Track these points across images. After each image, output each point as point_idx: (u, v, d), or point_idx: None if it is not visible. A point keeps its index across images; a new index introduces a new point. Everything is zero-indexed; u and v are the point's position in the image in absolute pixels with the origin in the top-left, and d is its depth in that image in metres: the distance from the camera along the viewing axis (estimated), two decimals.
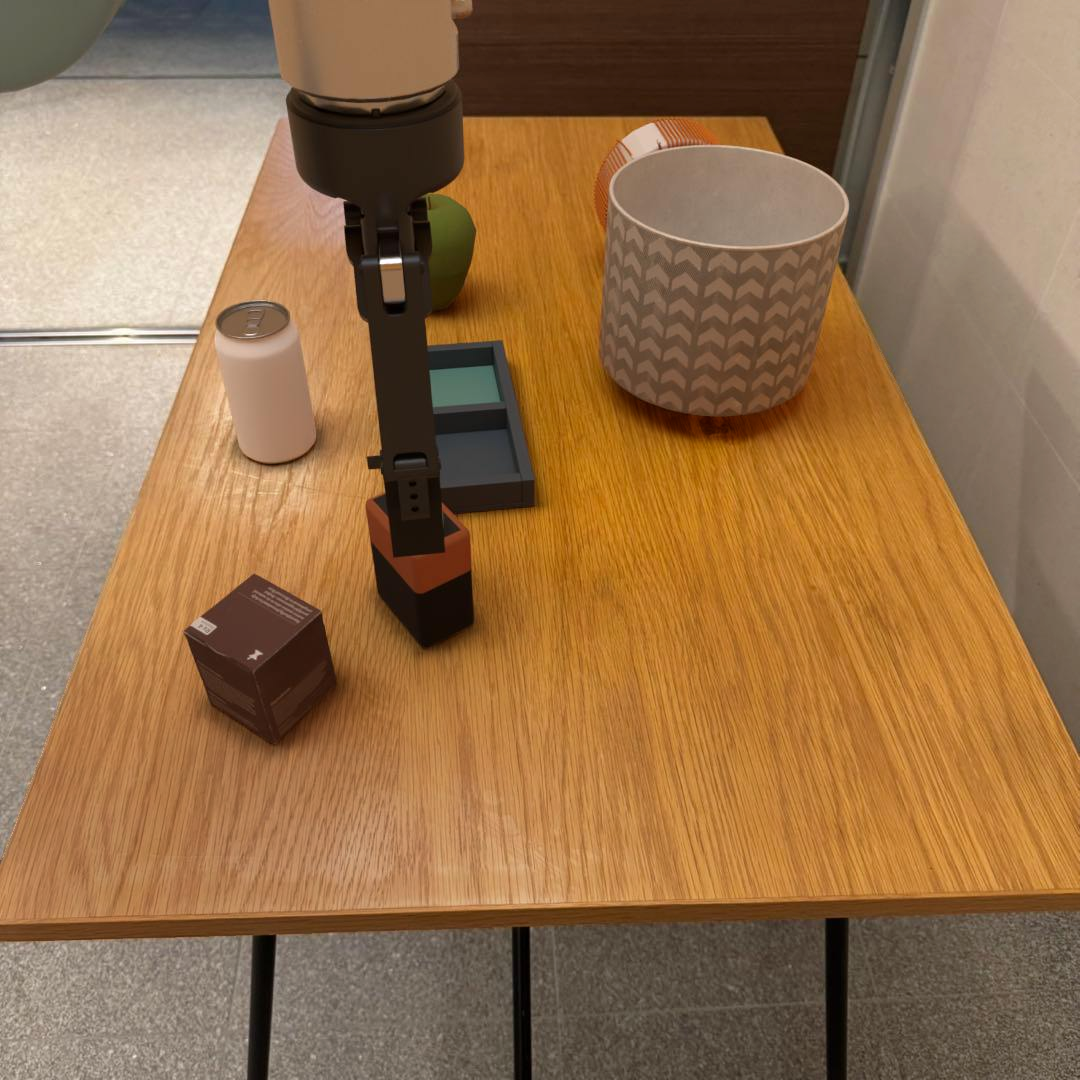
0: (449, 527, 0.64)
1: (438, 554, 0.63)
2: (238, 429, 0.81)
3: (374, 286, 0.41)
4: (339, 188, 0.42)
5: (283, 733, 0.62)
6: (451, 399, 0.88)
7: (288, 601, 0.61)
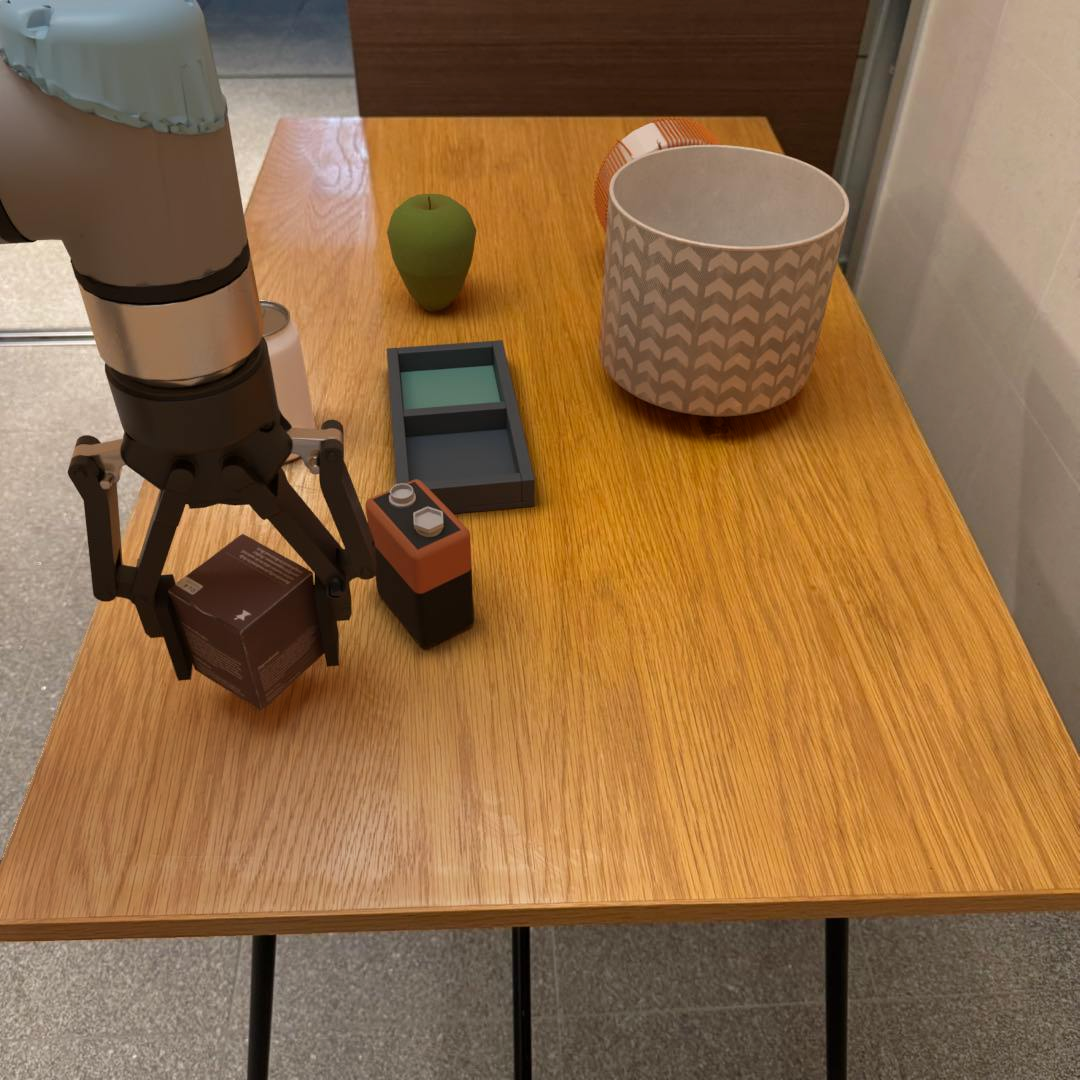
0: (449, 527, 0.64)
1: (438, 554, 0.63)
2: None
3: None
4: (264, 418, 0.49)
5: (270, 700, 0.60)
6: (451, 399, 0.88)
7: (278, 562, 0.59)
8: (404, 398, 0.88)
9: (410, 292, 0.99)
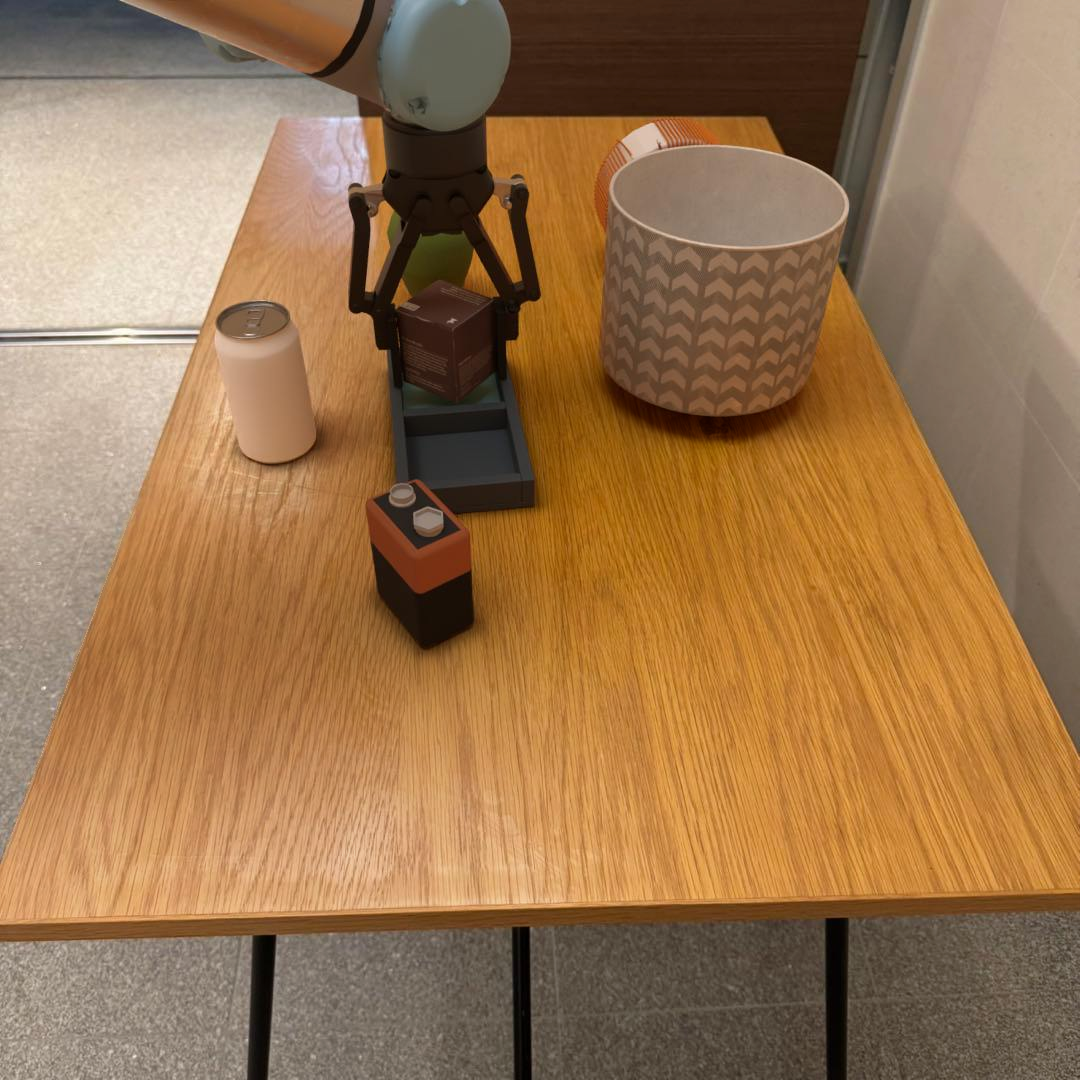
0: (449, 527, 0.64)
1: (438, 554, 0.63)
2: (238, 429, 0.81)
3: None
4: (482, 159, 0.73)
5: (462, 395, 0.84)
6: None
7: (468, 294, 0.83)
8: (404, 398, 0.88)
9: (410, 292, 0.99)
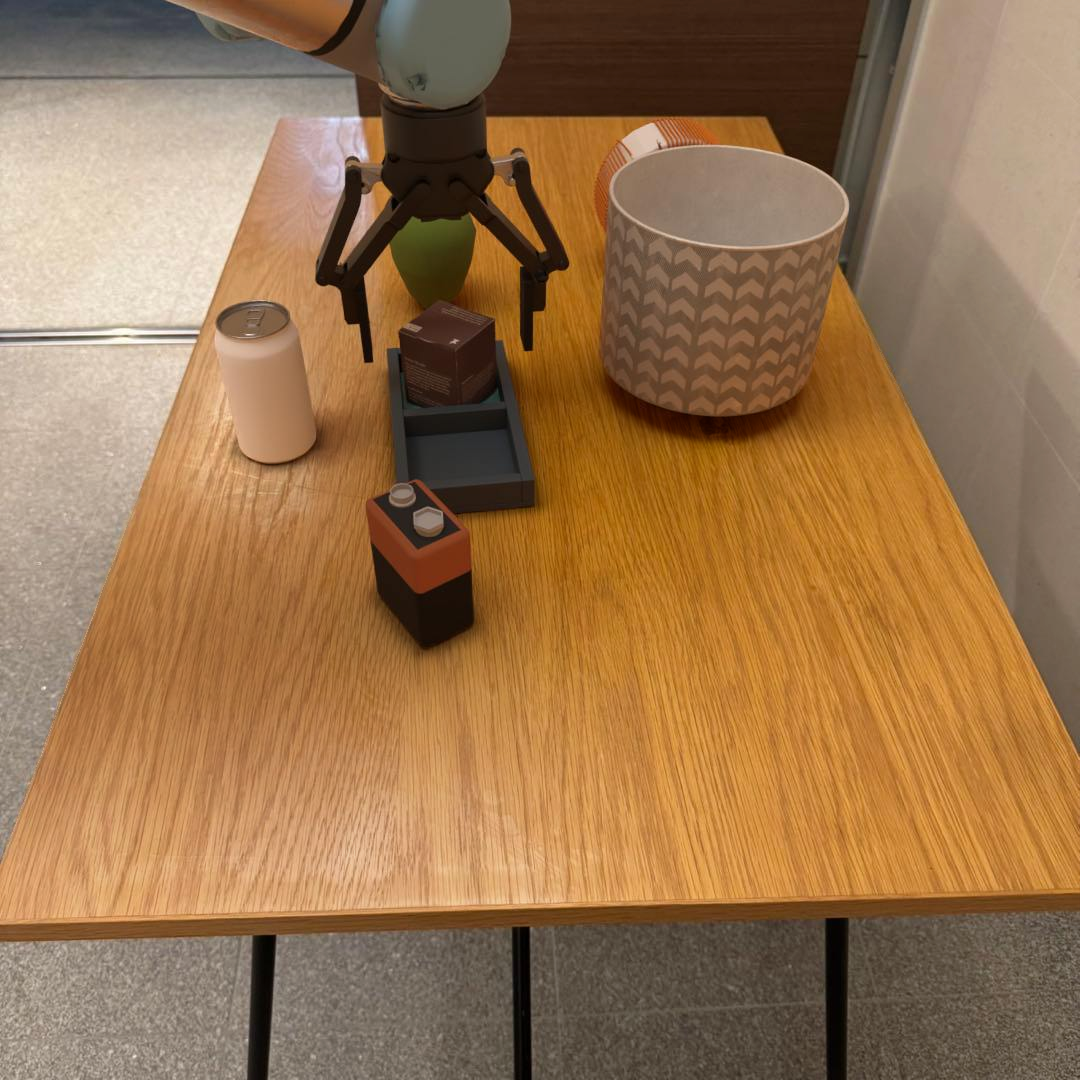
0: (449, 527, 0.64)
1: (438, 554, 0.63)
2: (238, 428, 0.81)
3: (529, 171, 0.75)
4: (482, 143, 0.72)
5: None
6: None
7: (469, 314, 0.85)
8: (404, 398, 0.88)
9: (410, 292, 0.99)
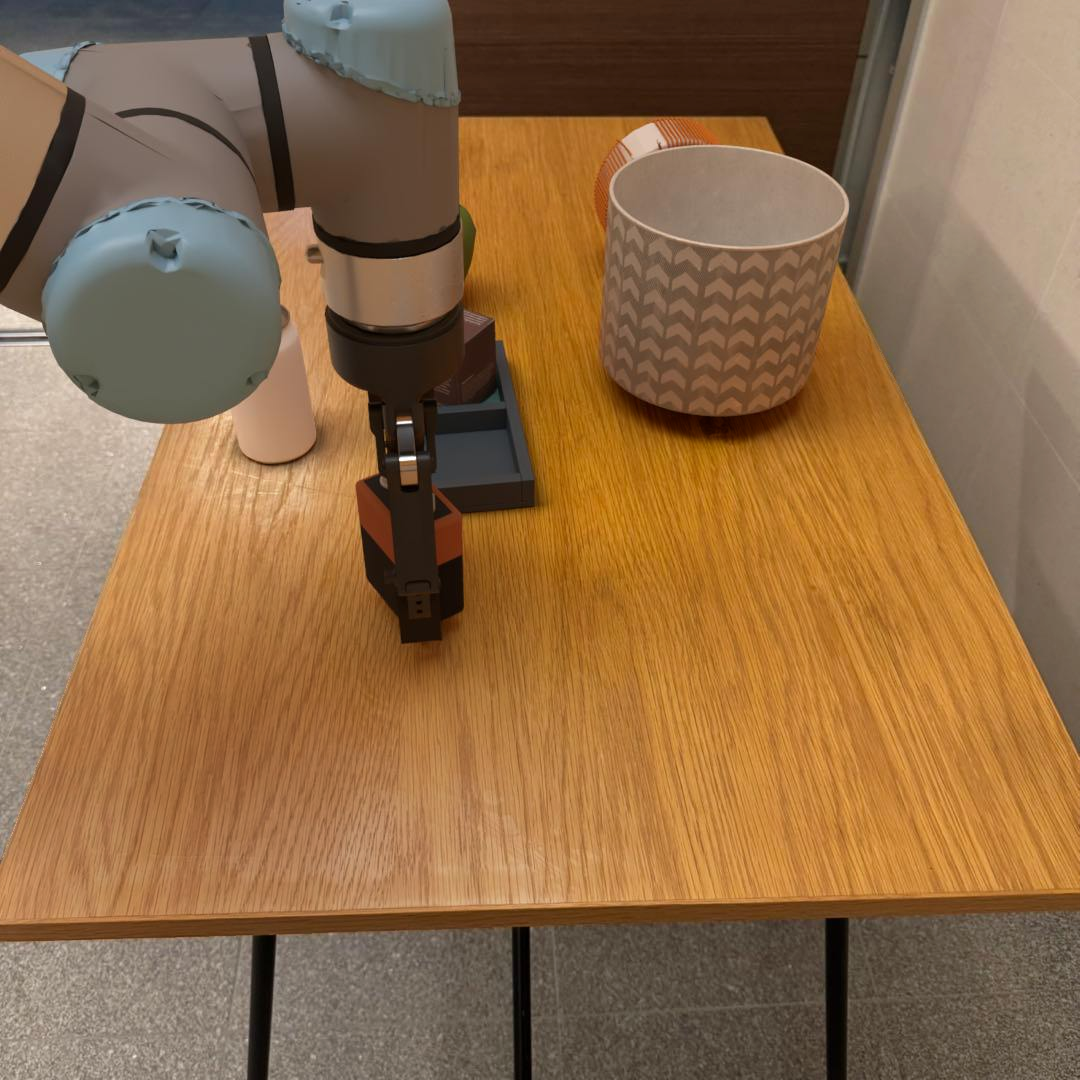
0: (441, 510, 0.63)
1: None
2: (238, 429, 0.81)
3: None
4: None
5: None
6: None
7: (469, 314, 0.85)
8: None
9: None
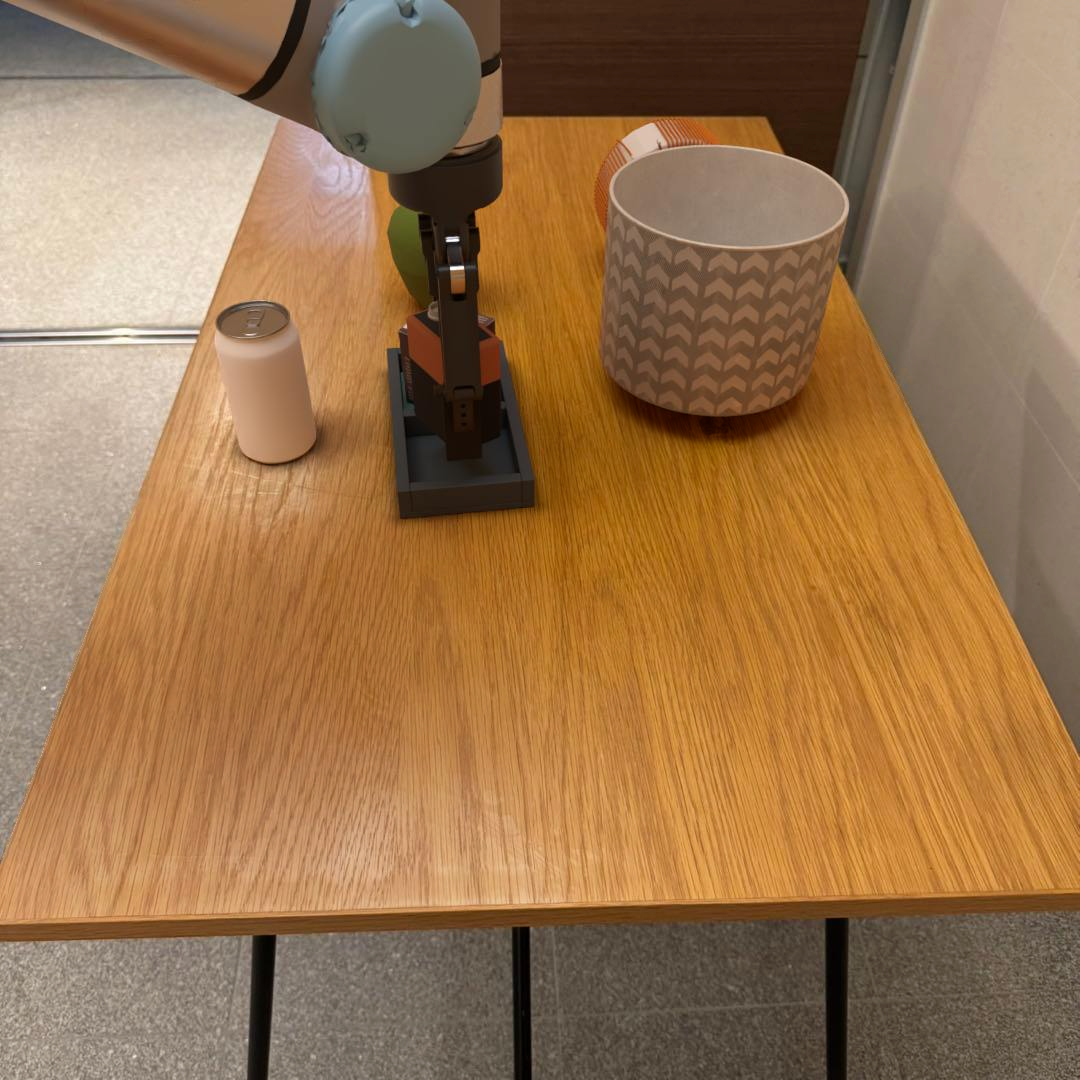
0: (482, 335, 0.72)
1: None
2: (238, 428, 0.81)
3: None
4: None
5: None
6: None
7: None
8: (404, 398, 0.88)
9: (410, 292, 0.99)
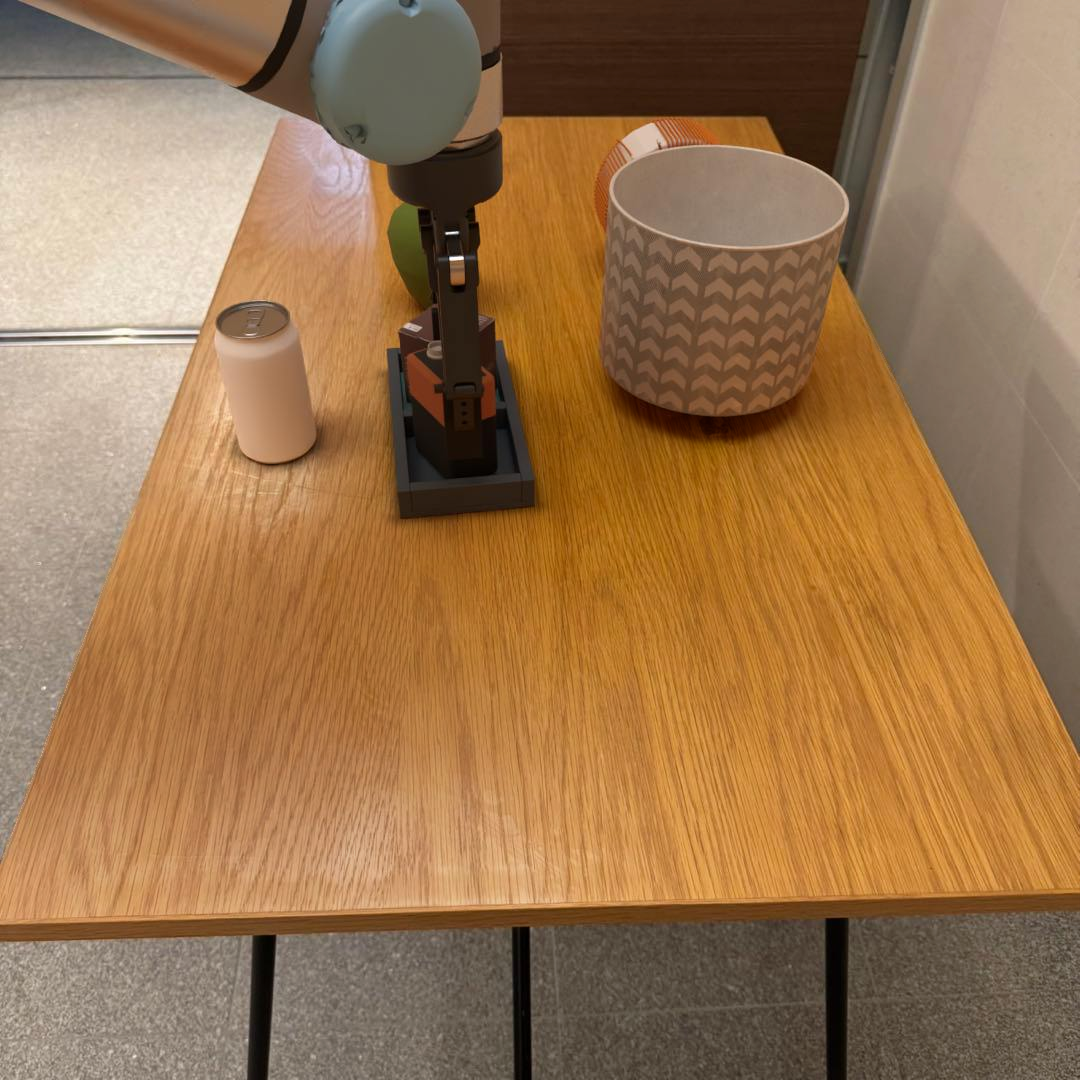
0: None
1: None
2: (238, 429, 0.81)
3: None
4: None
5: None
6: None
7: None
8: (404, 398, 0.88)
9: (410, 292, 0.99)
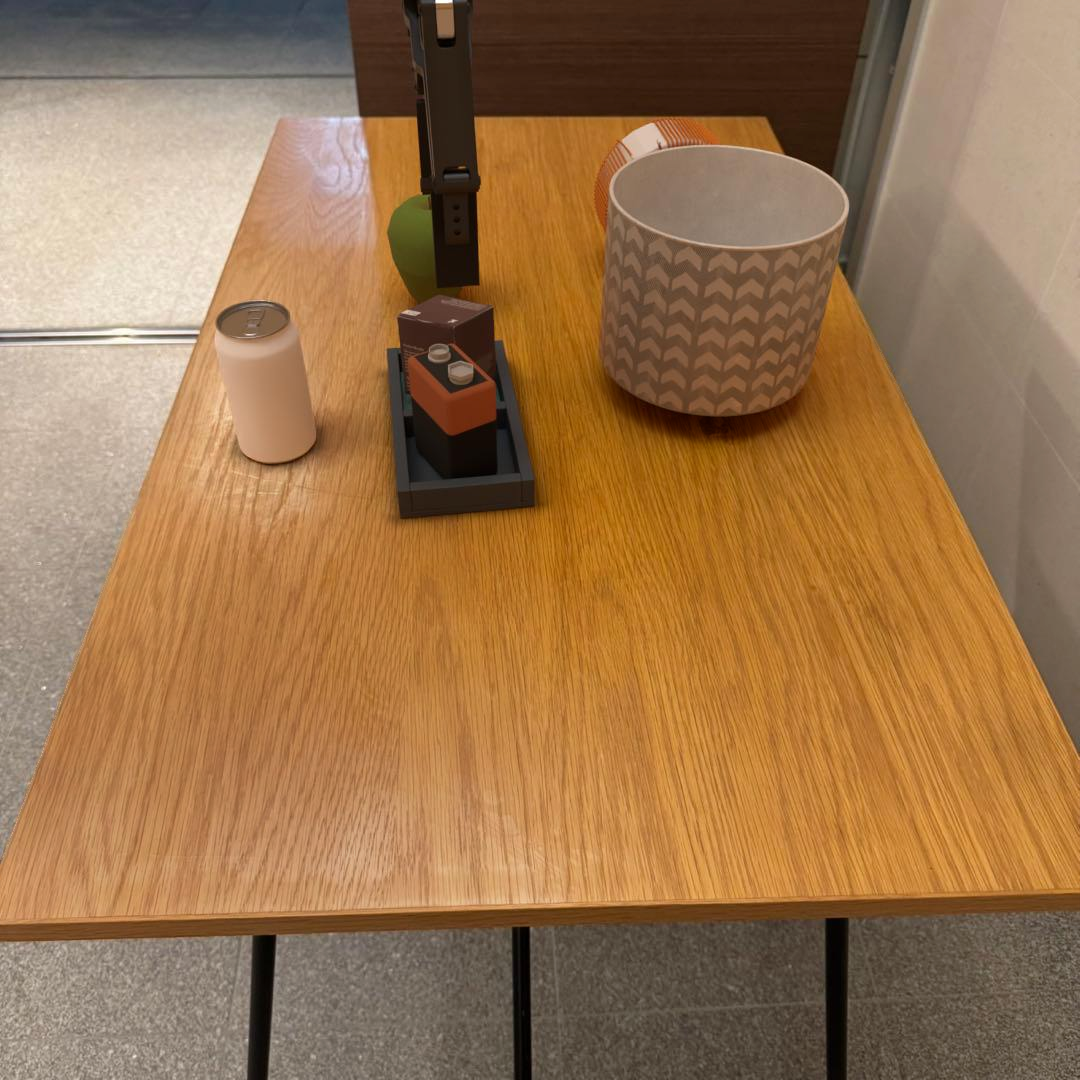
0: (478, 378, 0.75)
1: (468, 399, 0.74)
2: (238, 428, 0.81)
3: None
4: None
5: None
6: None
7: (468, 303, 0.85)
8: (404, 398, 0.88)
9: (410, 292, 0.99)
